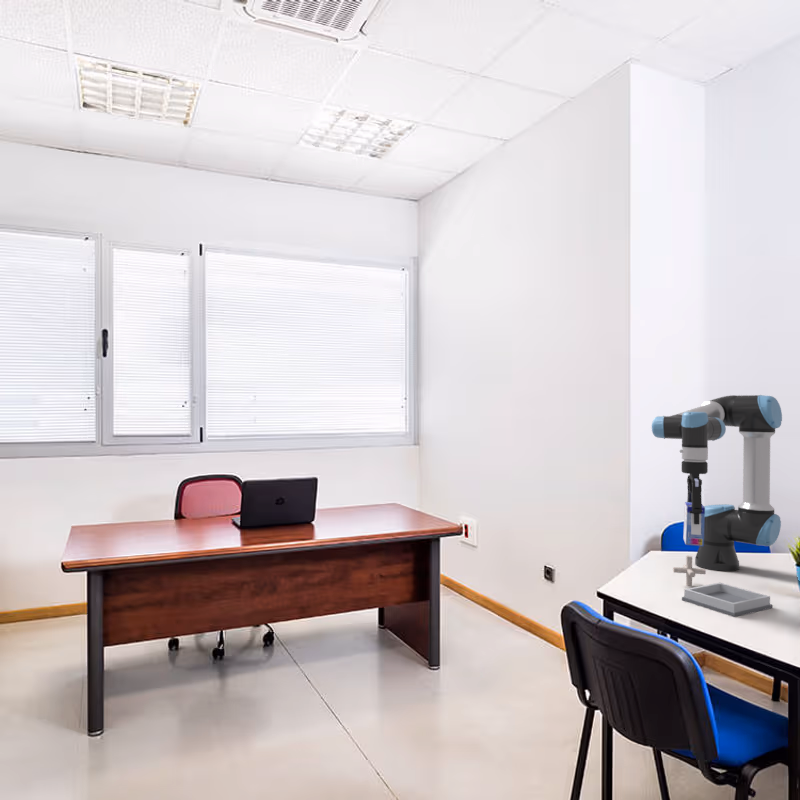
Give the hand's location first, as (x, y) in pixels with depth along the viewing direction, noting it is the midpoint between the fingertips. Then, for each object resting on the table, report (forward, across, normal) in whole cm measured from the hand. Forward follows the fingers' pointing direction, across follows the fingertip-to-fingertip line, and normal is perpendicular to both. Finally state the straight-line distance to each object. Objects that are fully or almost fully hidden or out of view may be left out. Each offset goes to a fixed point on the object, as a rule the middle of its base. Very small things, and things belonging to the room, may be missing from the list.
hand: (694, 531), depth 209 cm
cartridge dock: (+22, +2, +9) cm, 24 cm away
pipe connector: (+22, -16, 0) cm, 27 cm away
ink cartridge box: (+4, 0, 0) cm, 4 cm away
